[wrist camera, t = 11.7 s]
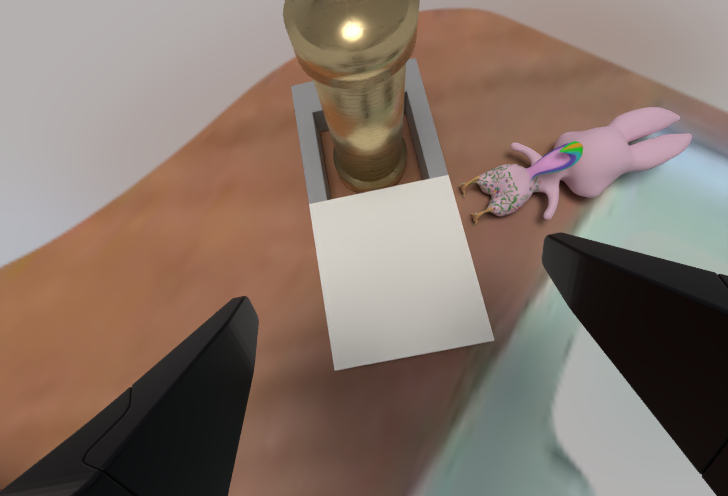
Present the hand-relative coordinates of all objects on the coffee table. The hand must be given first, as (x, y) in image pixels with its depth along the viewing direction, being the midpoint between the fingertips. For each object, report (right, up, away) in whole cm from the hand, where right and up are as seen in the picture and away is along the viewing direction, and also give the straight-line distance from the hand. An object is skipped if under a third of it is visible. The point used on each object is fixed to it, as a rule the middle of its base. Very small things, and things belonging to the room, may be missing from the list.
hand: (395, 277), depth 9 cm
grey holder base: (+1, +3, +15) cm, 15 cm away
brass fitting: (0, +8, +16) cm, 18 cm away
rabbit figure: (+14, +6, +15) cm, 21 cm away
